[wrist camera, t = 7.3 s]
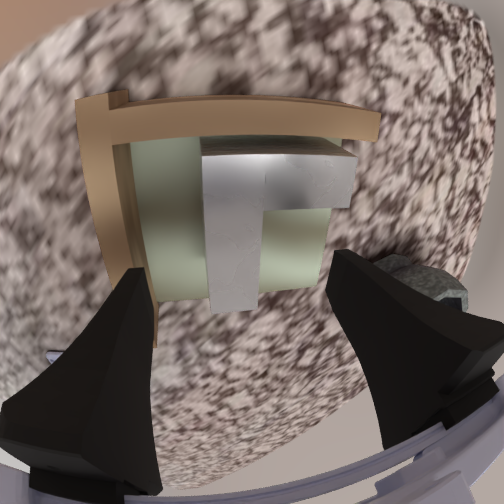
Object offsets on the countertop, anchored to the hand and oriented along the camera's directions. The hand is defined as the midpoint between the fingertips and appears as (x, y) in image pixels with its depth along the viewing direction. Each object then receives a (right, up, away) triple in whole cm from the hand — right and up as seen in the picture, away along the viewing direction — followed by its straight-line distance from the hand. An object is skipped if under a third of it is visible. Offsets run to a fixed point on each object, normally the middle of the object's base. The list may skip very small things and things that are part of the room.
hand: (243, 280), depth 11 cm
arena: (-1, +4, +7) cm, 8 cm away
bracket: (+1, +4, +6) cm, 7 cm away
